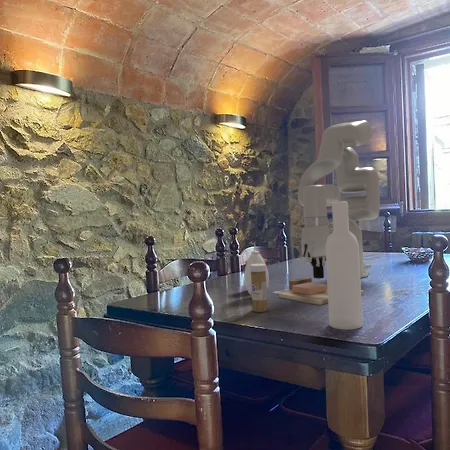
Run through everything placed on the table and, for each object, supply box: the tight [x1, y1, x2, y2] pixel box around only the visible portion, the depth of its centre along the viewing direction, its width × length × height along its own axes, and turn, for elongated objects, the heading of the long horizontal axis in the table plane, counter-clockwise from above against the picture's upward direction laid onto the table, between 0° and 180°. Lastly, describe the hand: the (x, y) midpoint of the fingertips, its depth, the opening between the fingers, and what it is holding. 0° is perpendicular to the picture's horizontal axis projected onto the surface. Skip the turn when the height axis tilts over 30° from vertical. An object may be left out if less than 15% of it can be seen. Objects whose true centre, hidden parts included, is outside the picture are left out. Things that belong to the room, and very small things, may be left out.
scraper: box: [271, 277, 313, 295], centre depth 157 cm, size 15×5×4 cm, turn 124°
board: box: [278, 288, 365, 306], centre depth 146 cm, size 20×18×1 cm
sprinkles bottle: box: [250, 264, 269, 313], centre depth 130 cm, size 5×5×14 cm
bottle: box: [325, 201, 364, 331], centre depth 109 cm, size 8×8×30 cm
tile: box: [292, 282, 327, 295], centre depth 147 cm, size 2×8×8 cm
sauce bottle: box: [244, 242, 270, 296], centre depth 148 cm, size 8×8×18 cm
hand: (318, 277), depth 149 cm, fingers closed
